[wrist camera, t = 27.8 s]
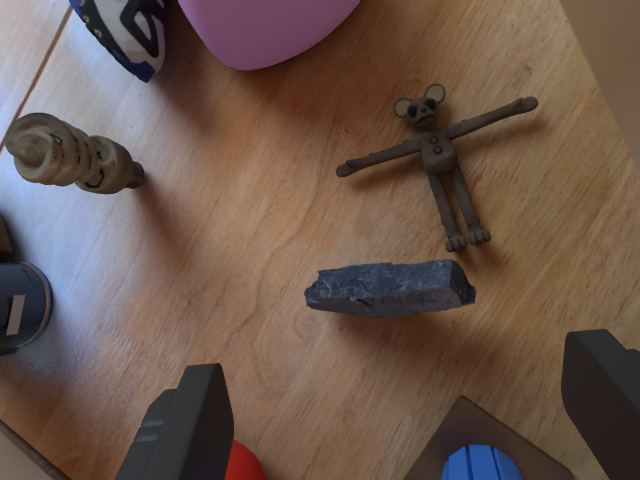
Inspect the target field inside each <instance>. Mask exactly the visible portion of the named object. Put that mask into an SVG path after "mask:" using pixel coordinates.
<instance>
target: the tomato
mask: <svg viewBox="0 0 640 480" xmlns="http://www.w3.org/2000/svg"><path fill="white" fill-rule="evenodd" d="M225 480H265V476H264V472H263V470H262V467H261V465H260V462H259V461H258V459H257V458H256V457H255V456H254V454H253V453H252V452H251V451H250V450H248V449H247V448H246V447H245V446H244V445H242V444H241V443H239V442H237V441H236V440H234V439H233V444H232V449H231V453H230V458H229V462H228V467H227V471H226V476H225Z"/></svg>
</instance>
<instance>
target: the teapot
mask: <svg viewBox="0 0 640 480" xmlns="http://www.w3.org/2000/svg"><path fill="white" fill-rule="evenodd" d="M360 1H361V0H178V2H179V4H180V6H181V8H182V10H183V11H184V13H185V15H186V17H187V18H188V20H189V22H190V23H191V25H192V26H193V28H194V29H195V31H196V32H197V34H198V35H199V36H200V38H201V39H202V41H203V42H204V43H205V45H206V46H207V47H208V49H209V50H210V51H211V53H212V54H213V55H214V56H215V57H216V58H217V59H218V60H219V61H221V62H222V63H223V64H224V65H227V66H229V67H231V68H234V69H238V70H256V69H260V68H265V67H268V66H271V65H274V64H277V63H280V62H282V61H285V60H287V59H290V58H292V57H294V56H296V55H298V54H300V53H302V52H304V51H306V50H307V49H309V48H311V47H312V46H314V45H315V44H317V43H318V42H320V41H321V40H322V39H324V38H325V37H326V36H327V35H328V34H330V33H331V32H332V31H333V30H334V29H335V28H336V27H337V26H339V25H340V24H341V23H342V22H343V21H344V20H345V19H346V18H347V17H348V16H349V15H350V14H351V12H352V11H353V10H354V9H355V7H356V6H357V5H358V4H359V2H360Z"/></svg>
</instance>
